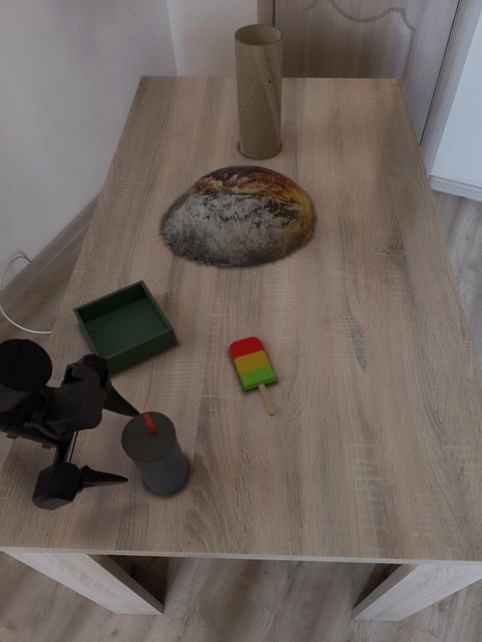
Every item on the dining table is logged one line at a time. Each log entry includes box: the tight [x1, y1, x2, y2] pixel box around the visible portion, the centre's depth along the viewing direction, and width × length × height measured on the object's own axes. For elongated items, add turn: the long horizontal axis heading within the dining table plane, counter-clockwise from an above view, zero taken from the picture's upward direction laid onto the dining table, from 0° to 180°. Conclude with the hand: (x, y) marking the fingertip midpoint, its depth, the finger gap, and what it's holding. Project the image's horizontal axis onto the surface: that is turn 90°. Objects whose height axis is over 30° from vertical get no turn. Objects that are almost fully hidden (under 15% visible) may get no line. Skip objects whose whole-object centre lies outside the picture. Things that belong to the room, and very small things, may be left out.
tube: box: [234, 23, 284, 160], centre depth 107 cm, size 10×10×25 cm
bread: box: [162, 164, 315, 267], centre depth 98 cm, size 27×32×10 cm
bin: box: [72, 279, 178, 377], centre depth 83 cm, size 13×13×4 cm
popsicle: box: [229, 336, 277, 415], centre depth 79 cm, size 6×15×2 cm, turn 20°
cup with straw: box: [120, 411, 189, 495], centre depth 63 cm, size 7×7×18 cm
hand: (132, 446), depth 63 cm, fingers open, 9 cm apart
